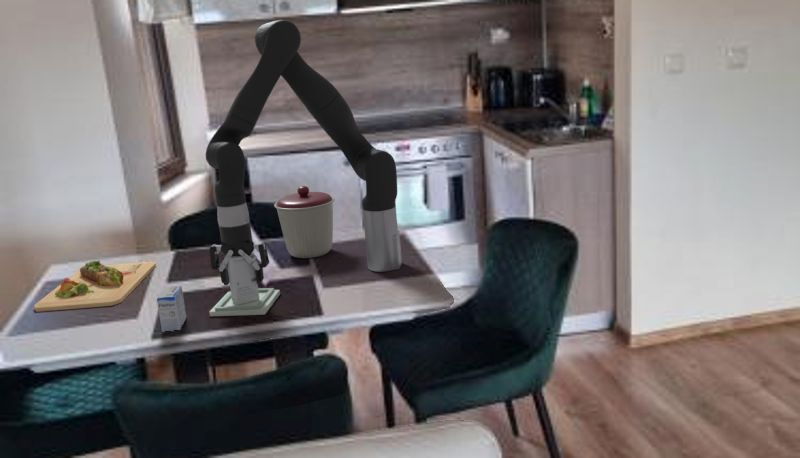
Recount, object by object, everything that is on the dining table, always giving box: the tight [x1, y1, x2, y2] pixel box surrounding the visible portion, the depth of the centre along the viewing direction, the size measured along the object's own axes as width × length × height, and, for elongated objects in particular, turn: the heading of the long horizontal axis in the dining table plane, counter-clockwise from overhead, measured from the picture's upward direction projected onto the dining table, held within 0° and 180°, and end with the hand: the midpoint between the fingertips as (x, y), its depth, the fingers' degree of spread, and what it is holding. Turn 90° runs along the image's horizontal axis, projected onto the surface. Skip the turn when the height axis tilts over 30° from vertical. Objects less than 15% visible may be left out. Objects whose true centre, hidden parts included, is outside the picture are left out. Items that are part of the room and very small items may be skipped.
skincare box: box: [226, 253, 259, 305], centre depth 191 cm, size 6×4×12 cm
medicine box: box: [156, 285, 187, 333], centre depth 182 cm, size 8×4×9 cm, turn 5°
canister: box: [273, 185, 336, 259], centre depth 229 cm, size 18×18×21 cm
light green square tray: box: [208, 287, 281, 317], centre depth 192 cm, size 14×14×2 cm
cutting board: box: [33, 260, 157, 313], centre depth 217 cm, size 35×23×8 cm
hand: (243, 283), depth 191 cm, fingers open, 8 cm apart
